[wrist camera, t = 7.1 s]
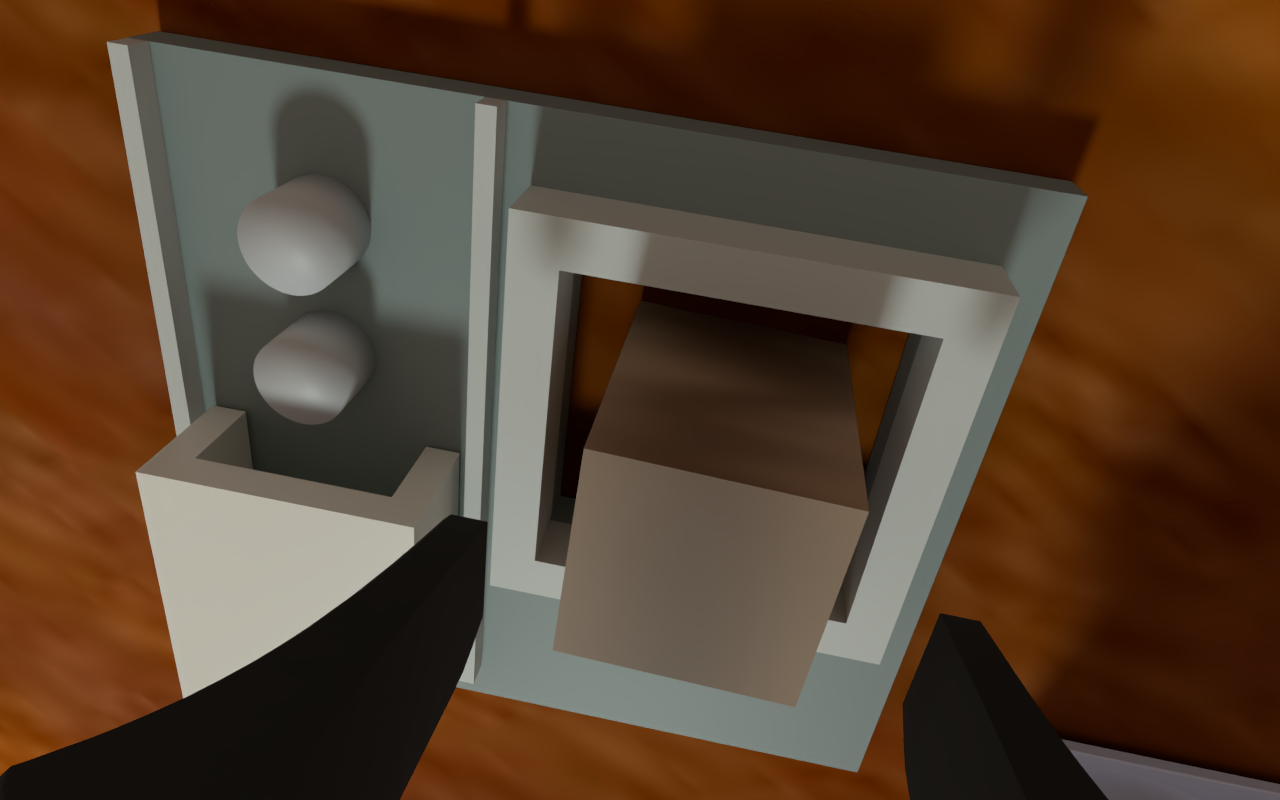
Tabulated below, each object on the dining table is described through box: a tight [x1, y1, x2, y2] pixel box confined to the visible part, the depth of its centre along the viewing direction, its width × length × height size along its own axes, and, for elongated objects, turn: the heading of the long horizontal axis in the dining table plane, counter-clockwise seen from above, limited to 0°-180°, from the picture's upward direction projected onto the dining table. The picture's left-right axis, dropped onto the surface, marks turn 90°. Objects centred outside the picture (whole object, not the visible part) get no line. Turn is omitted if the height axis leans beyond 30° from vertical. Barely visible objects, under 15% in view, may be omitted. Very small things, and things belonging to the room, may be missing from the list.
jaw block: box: [553, 301, 869, 707], centre depth 17 cm, size 4×4×6 cm
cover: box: [136, 405, 460, 698], centre depth 21 cm, size 6×7×3 cm
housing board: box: [107, 31, 1088, 772], centre depth 20 cm, size 18×16×2 cm
